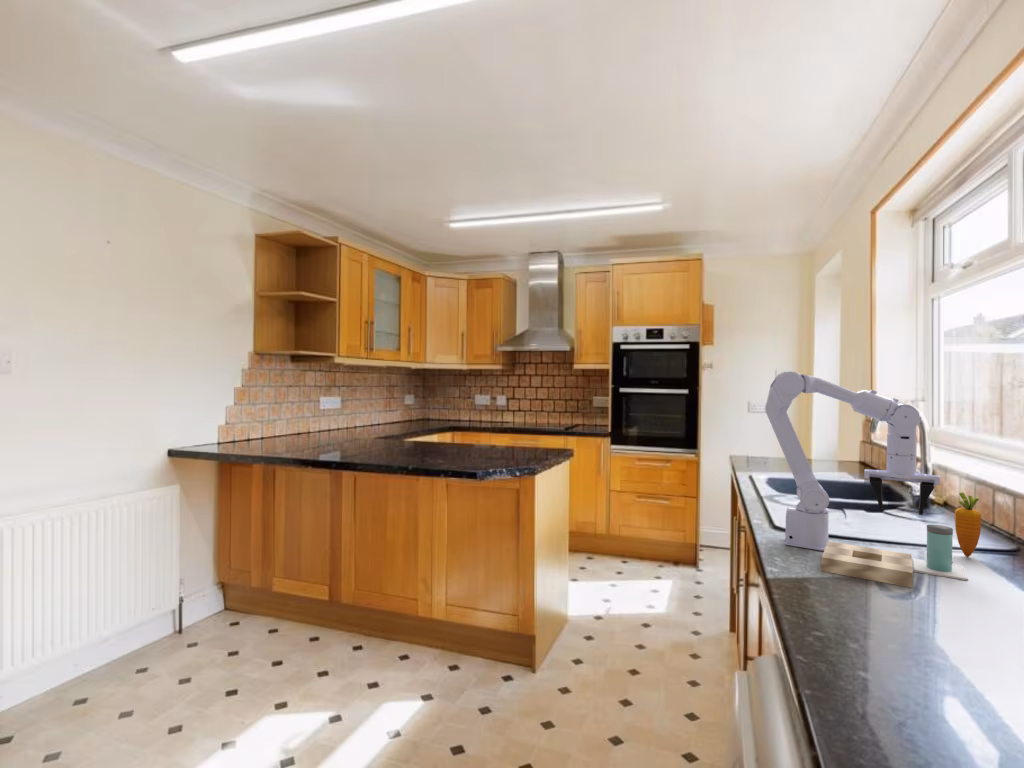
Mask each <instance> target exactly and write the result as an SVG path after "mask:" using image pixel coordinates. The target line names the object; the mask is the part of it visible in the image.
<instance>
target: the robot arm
mask: <svg viewBox="0 0 1024 768" xmlns="http://www.w3.org/2000/svg"><path fill="white" fill-rule="evenodd" d="M801 393H803V394H814V393H818V394H821V395H823V396H827V397H830V398H833V399H834V400H835V399H836V400H839V401H841V402H844V403H847V404H850V406H851V408H852V410H853V412H855V413H858V414H861V415H863V416H866V417H869V418H871V419H875V420H877V421H879V422H882V423H883V422H885V423H887V434H886V467H885V468H886V469H883V470H881V469H864V479H869V484H870V486H871V488H872V490H873V492H874V494H875V495H874V496H875V497H876V499H877V501H876V502H877V505H878V510H879V511H883V507H884V504H883V503H884V502H883V480H886V481H895V482H896V481H897V482H906V483H918V484H919V504H918V515H921V516H923V515H924V510H925V506H926V504H927V502H928V499H929V497H930V495H931V494H932V493H933V491H934V489H935V486H941V476H940V475H936V474H935V475H934V474H928V473H918V472H917V448H918V447H917V443H918V442H917V440H918V439H917V438H918V437H917V427H918V425H920V424H921V420H922V417H921V416H920V412H919V411H918V410H917V408H916V407H914V406H912V405H911V404H906V403H903V402H899V401H900V400H899V399H898V398H889V397H886V396H883V395H880V394H878V391H876V390H875V389H870V390H867V389H862V390H859V391H857V392H856V391H854V390H851V389H848V388H846V387H844V386H841V385H838V384H835V383H832V382H830V381H828V380H825V379H823V378H821V377H817V376H813V375H808V374H804V373H798V372H796V371H790V370H789V371H783V372H781V373H779V374H778V375H776V377H774V380H773V381H772V383H771V384H770V386H769V390H768V395H767V400H766V403H765V407H764V409H765V410H764V411H765V414H766V417H767V418H768V421H769V423H770V424H771V425H770V426H771V427H772V429H773V432H774V434H775V436H776V439H777V441H778V443H779V446H780V448H781V450H782V452H783V455H784V457H785V460H786V462H787V465H788V467H789V469H790V472H791V473H792V476H793V479H794V481H795V484H796V496H797V497H798V499H799V502H798V503H797V504H796V505H795V507H790V506H789V507H787V508H786V513H785V532H784V534H785V535H784V536H785V542H784V545H785V546H792V547H798V548H803V549H809V550H816V551H821V552H824V550H825V548H826V545H827V543H828V541H829V521H830V520H829V517H830V515H829V514H830V512H829V511H830V510H829V508H828V507H829V504H830V497H829V496H830V495H829V494H828V493H827V491H826V490H825V489H824V487H823V485H821V484H820V483H819V482H818V480H817V477H816V476H815V474H814V471H813V469H812V467H811V465H810V462H809V460H808V457H807V456H806V453H805V452H804V448H803V446H802V444H801V443H800V439H799V437H798V434H797V432H796V430H795V429H794V427H793V424H792V421H791V419H790V417H789V415H788V413H787V412H788V410H789V408H790V406H791V404H792V403H793V401H794V399H796V398H797V397H798V396H799V395H800V394H801Z"/></svg>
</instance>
